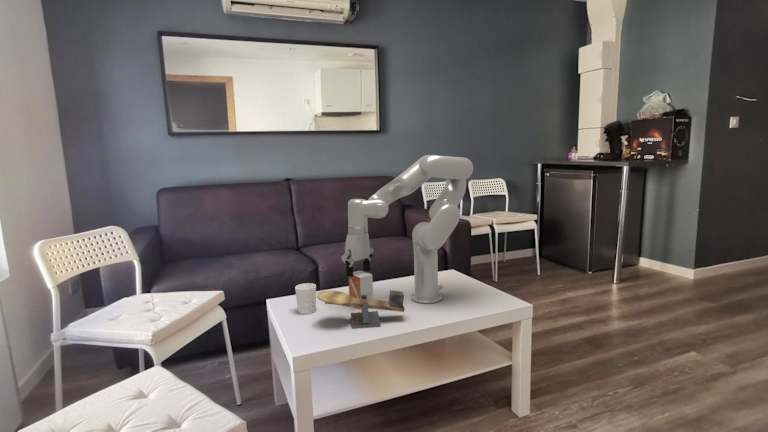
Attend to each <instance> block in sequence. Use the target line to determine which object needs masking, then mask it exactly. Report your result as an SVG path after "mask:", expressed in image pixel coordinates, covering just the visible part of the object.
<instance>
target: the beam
mask: <svg viewBox="0 0 768 432" xmlns="http://www.w3.org/2000/svg"><path fill="white" fill-rule="evenodd" d="M404 298H405V295H404V292H403V291H399V290H389V297H388V301H387V300H379V299H378V300H377V299H373V300H371V299H361V298H352V297H351V296H350V295H349V293H345V292H343V291H339V290H338V291H337V290H322V291H319V292H318V293H317V295H316V299H318V300H319V301H321V302H322V303H324V304H325V305H335V306H343V307H344V306H345V307H351V308H353V307H354V308H357V307H361V308H362V303H368V309H372V310H373V309H374V310H380V311H381V310H382V311H392V312H402V313H405V306H404Z"/></svg>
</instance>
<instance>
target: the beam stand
mask: <svg viewBox="0 0 768 432" xmlns="http://www.w3.org/2000/svg"><path fill="white" fill-rule="evenodd" d="M361 299H367V295H361ZM350 318H351V319H350V322H351V323H350V325H351V329H363V328H364V329H365V328H380V327H382V326H381V320H380V316H379V312H378V311H377V310H375V311H373V310H372V311H369V308H368V303H362V309H361V311H359V312H351V313H350Z"/></svg>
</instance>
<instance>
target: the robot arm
mask: <svg viewBox="0 0 768 432" xmlns="http://www.w3.org/2000/svg"><path fill="white" fill-rule="evenodd" d="M473 172H474V164H473V162H472V161H471V160H470V159H469V158H467V157H463V156H449V155H438V154H425V155H423V156H422V157H420V158H418V160H416V161H415V162H413V164H412V165H410V166H409V167H408V168H407V169H406V170H403V172H402V173H400V174H399V175H398V176H396V177H395V178H394V179H392V180H391V181H390V182H388V183H387V184H385V185H384V186H382V187H381V188H379V189H378V190H377V191H376V192H375V193H374V194H372V195H371V196H370V197H369V198H368V199H367V200H366V199H365V198H364V199H363V198H351V199H349V200H348V202H347V221H348V222H347V224H348V225H347V226H348V227H347V234H346V239H345V246H344V254H343V255H342V256H341V261H342V263H343V264H344V266H345V273H346V274H345V276H347V277H348V278H349V277H353V272H354V266H353V265H354V263H355V262H358V261H361V260H363V262H362V265H363V266H362V268H363V269H362V271H364V272H367V273H370V271H371V261H372V258H373V256H374V255H373V254H374V252H375V251H374V250H375V249H374V248H372V247H370V246H371V244H370V238H369V237H370V236H369V233H368V232H369V230H368V229H369V226H368V225H369V224H368V218H371V219H382V218H384V217H385V216H387V215H388V212H389V205H391V204H392V203H394V202H395V201H397V200H398V199H400V198H403V197H406V196H409V195H411V194H412V193H414V192H415V191H416V190H417V189H419V188H420V187H421V186H422V185H424V183H426V182H427V181H428V180H430V179H431V178H435V179H436V178H437V179H445V184H444V187H443V188H442V191H440V193H439V194H438V196H437V198H435V200H434V202H433V203H432V205H431V206H430V209H429V211H428V215H429V218H430V219H431V220H430V221H429V222H426V221H422V222H421V221H420V222H419V223H417V224H415V226H414V227H413V230H412V234H411V239H412V245H413V246H412V247H413V261H414V262H413V270H414V276H413V277H414V292H413V293H412V294H410V299H411V300H412V301H413V302H416V303H417V304H418V303H419V304H434V303H438V302H440V301H441V300H442V299H443V296H442V294H441V293H440V292H439V291H440V290H442V289H443V288H444V286H443V284H441V283H440V284H439V278H438V277H439V276H438V275H439V274H438V273H439V269H438V264H439V261H438V259H439V257H438V249H440V248H442V246H444V244H445V243H446V241H447V240H448V238H450V236H451V235H452V233H453V231H454V230H455V228H456V227H457V225H458V223H459V221H460V217H461V211H460V209H459V205H460V203H461V201H462V200H463V198H464V196H465V193H466V190H467V179H469V178H470V177H471V176H472V175H473Z"/></svg>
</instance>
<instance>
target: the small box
mask: <svg viewBox="0 0 768 432" xmlns="http://www.w3.org/2000/svg"><path fill="white" fill-rule="evenodd" d="M373 282H374V281H373V274H372V273H370V272H368V271H364V270H357V271H353V277H349V276H348V295H350V296H351V297H352V298H361V295H367V299H371V300H374V286H373V285H374V283H373ZM356 308H358V309H359V310H362V308H361V307H356Z"/></svg>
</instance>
